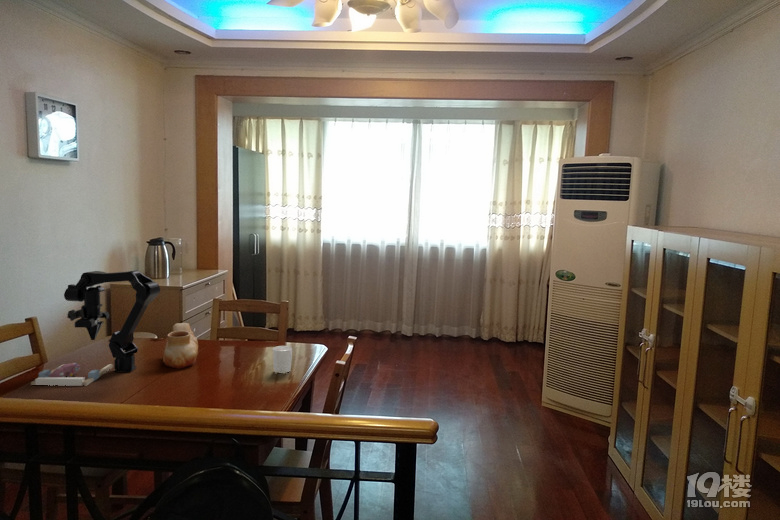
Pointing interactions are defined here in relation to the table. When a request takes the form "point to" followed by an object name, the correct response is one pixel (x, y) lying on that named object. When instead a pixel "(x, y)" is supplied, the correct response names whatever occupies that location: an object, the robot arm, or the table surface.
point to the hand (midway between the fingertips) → (93, 339)
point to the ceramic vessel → (180, 347)
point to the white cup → (282, 358)
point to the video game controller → (65, 370)
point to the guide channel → (68, 378)
